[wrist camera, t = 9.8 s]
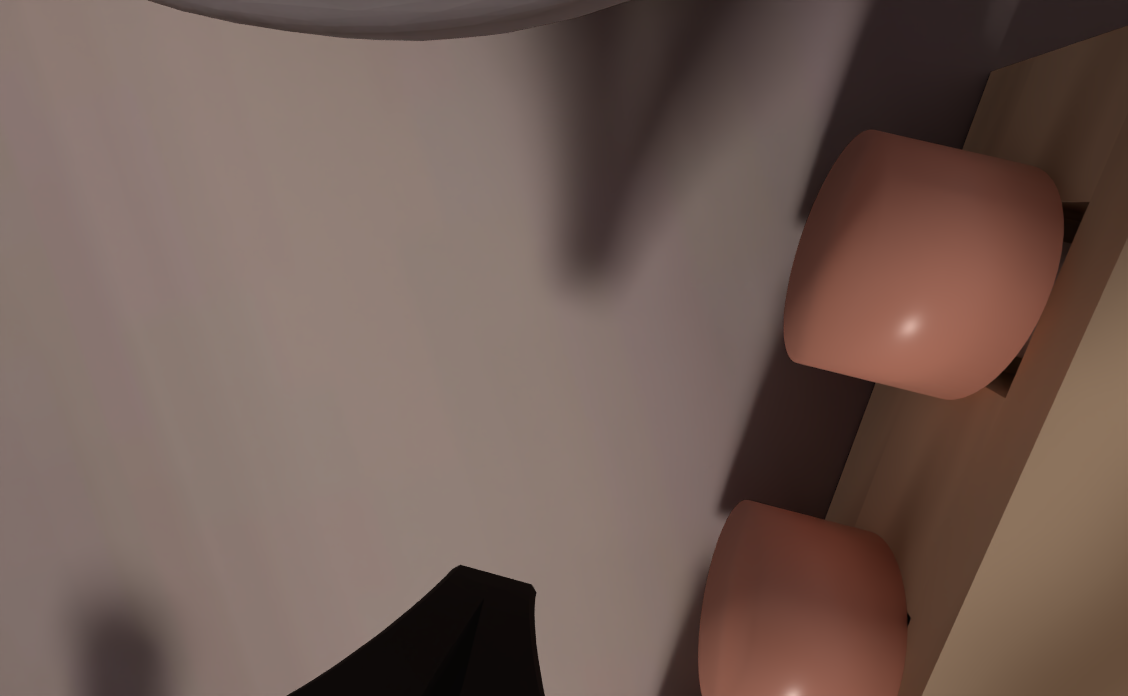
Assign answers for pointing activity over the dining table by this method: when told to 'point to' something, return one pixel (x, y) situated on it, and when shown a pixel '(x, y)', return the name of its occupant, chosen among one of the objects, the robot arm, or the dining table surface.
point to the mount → (1023, 429)
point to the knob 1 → (801, 609)
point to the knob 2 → (923, 266)
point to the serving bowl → (393, 16)
